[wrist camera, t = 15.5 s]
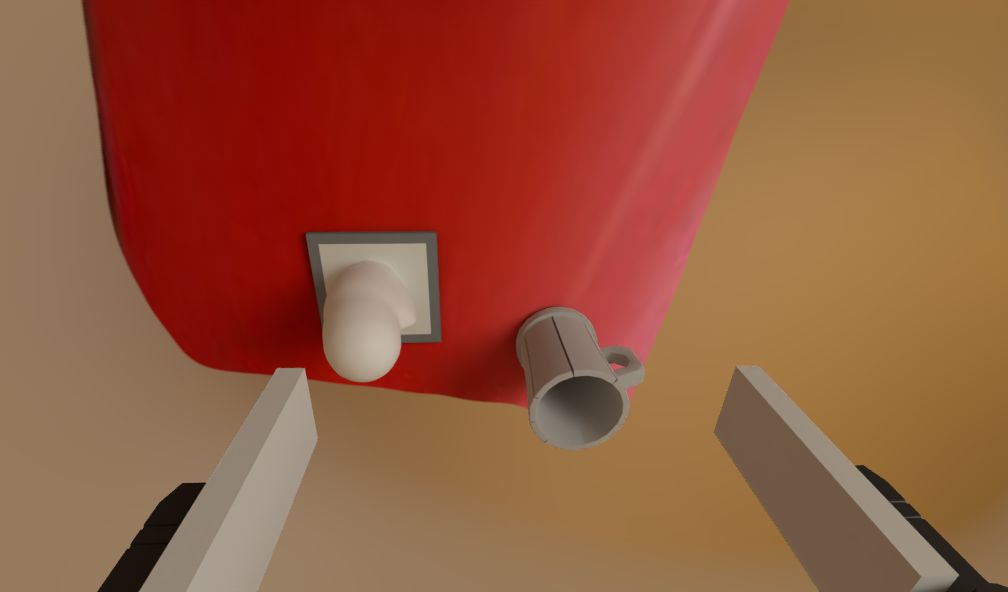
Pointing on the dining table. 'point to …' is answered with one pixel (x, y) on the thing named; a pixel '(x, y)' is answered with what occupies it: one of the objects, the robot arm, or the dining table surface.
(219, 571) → the robot arm
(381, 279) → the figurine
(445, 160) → the dining table surface
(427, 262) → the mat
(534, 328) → the cup
